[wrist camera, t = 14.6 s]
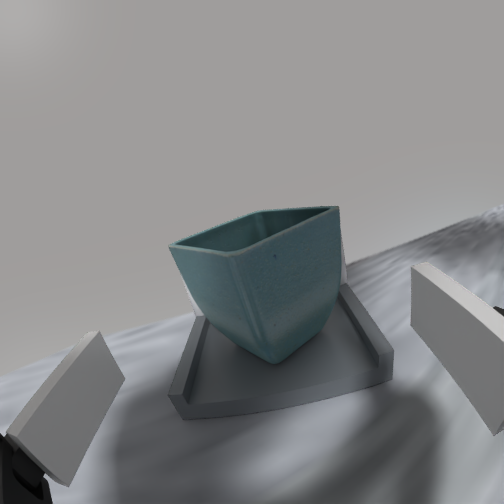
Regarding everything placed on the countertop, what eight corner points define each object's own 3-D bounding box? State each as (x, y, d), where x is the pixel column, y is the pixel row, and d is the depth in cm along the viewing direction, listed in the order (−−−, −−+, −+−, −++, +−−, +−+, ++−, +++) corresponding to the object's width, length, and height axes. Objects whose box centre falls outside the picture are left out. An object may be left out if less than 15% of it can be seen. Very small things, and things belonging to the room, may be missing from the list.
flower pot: (202, 347, 22) (164, 243, 20) (279, 300, 27) (257, 208, 24) (272, 396, 15) (230, 254, 13) (357, 323, 20) (342, 205, 17)
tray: (347, 299, 27) (337, 225, 25) (396, 377, 15) (398, 272, 13) (204, 330, 28) (180, 262, 26) (178, 419, 16) (129, 331, 14)
